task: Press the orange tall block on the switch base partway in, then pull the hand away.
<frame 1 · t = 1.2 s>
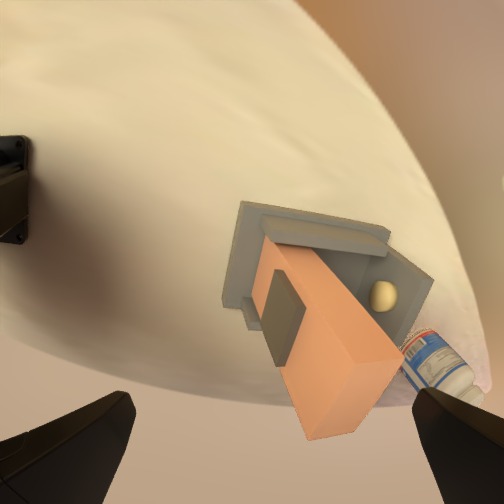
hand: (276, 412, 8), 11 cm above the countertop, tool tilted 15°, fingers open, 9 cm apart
orange tall block: (301, 317, 13), point 6 cm above the countertop, slide at -0.1 cm
pill bottle: (415, 346, 27), on the countertop
switch base: (307, 261, 19), on the countertop
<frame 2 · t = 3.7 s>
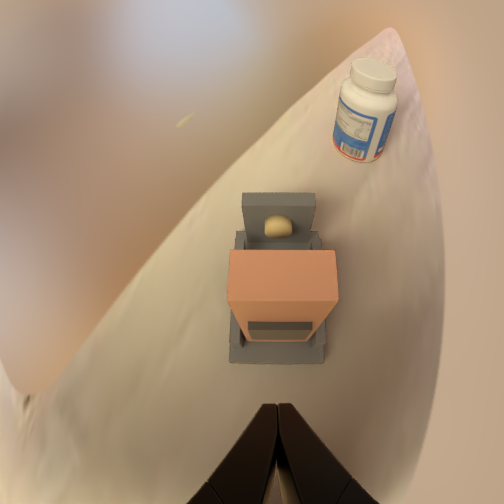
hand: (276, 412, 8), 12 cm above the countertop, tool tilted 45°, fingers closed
orange tall block: (279, 312, 15), point 6 cm above the countertop, slide at -0.1 cm
pill bottle: (356, 146, 29), on the countertop
switch base: (277, 296, 22), on the countertop
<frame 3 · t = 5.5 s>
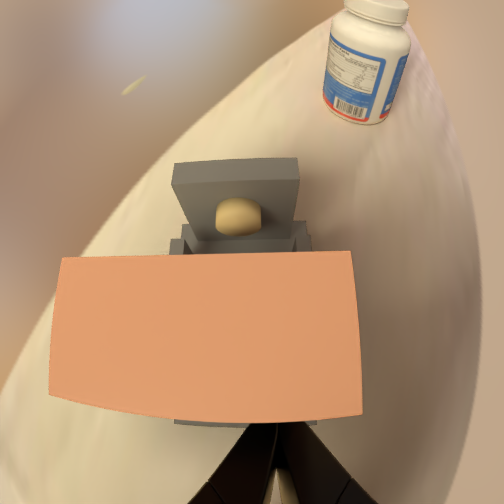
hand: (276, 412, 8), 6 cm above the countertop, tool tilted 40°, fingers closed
orange tall block: (231, 362, 8), point 6 cm above the countertop, slide at 0.7 cm, touching gripper
pill bottle: (354, 105, 20), on the countertop
switch base: (244, 323, 14), on the countertop
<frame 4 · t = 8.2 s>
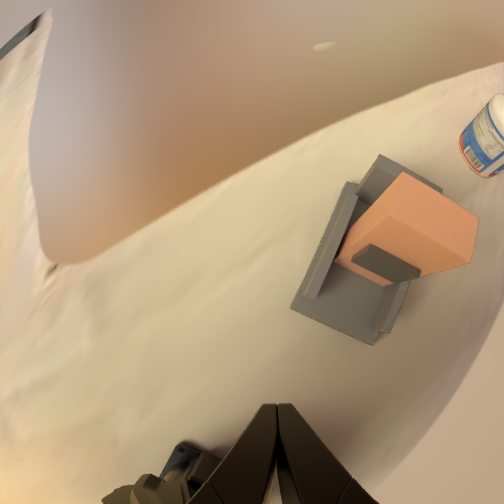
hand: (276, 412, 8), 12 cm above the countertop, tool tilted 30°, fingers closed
orange tall block: (390, 248, 14), point 6 cm above the countertop, slide at 2.4 cm
pill bottle: (476, 155, 22), on the countertop
switch base: (358, 263, 21), on the countertop
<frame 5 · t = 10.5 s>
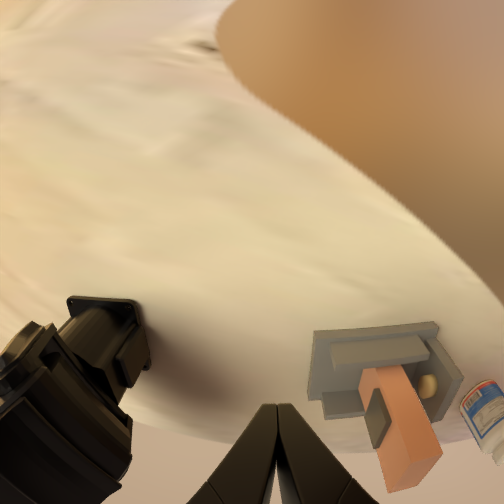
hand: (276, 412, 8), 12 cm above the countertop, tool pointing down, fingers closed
orange tall block: (390, 416, 16), point 6 cm above the countertop, slide at 2.4 cm
pill bottle: (476, 394, 24), on the countertop
switch base: (371, 359, 21), on the countertop
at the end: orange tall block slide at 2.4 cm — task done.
